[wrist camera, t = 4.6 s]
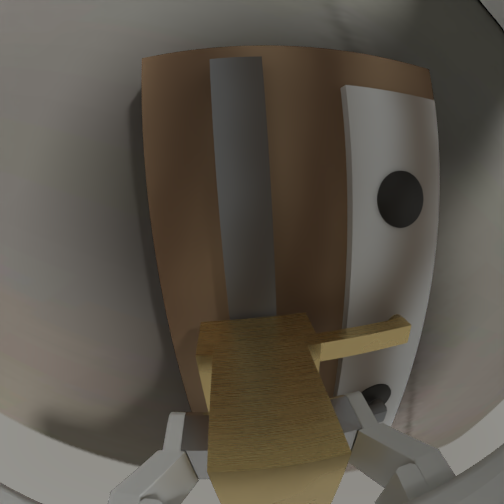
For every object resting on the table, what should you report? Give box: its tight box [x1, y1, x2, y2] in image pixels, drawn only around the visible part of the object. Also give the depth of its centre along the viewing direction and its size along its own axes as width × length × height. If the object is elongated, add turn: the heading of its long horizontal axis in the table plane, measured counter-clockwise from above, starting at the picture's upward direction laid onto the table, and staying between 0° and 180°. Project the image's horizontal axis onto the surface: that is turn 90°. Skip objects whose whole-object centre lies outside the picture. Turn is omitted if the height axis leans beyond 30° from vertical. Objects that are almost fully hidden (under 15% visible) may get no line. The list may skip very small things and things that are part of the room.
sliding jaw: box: [196, 313, 411, 504], centre depth 9 cm, size 10×4×8 cm, turn 94°
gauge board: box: [142, 45, 440, 427], centre depth 12 cm, size 14×26×8 cm, turn 4°
